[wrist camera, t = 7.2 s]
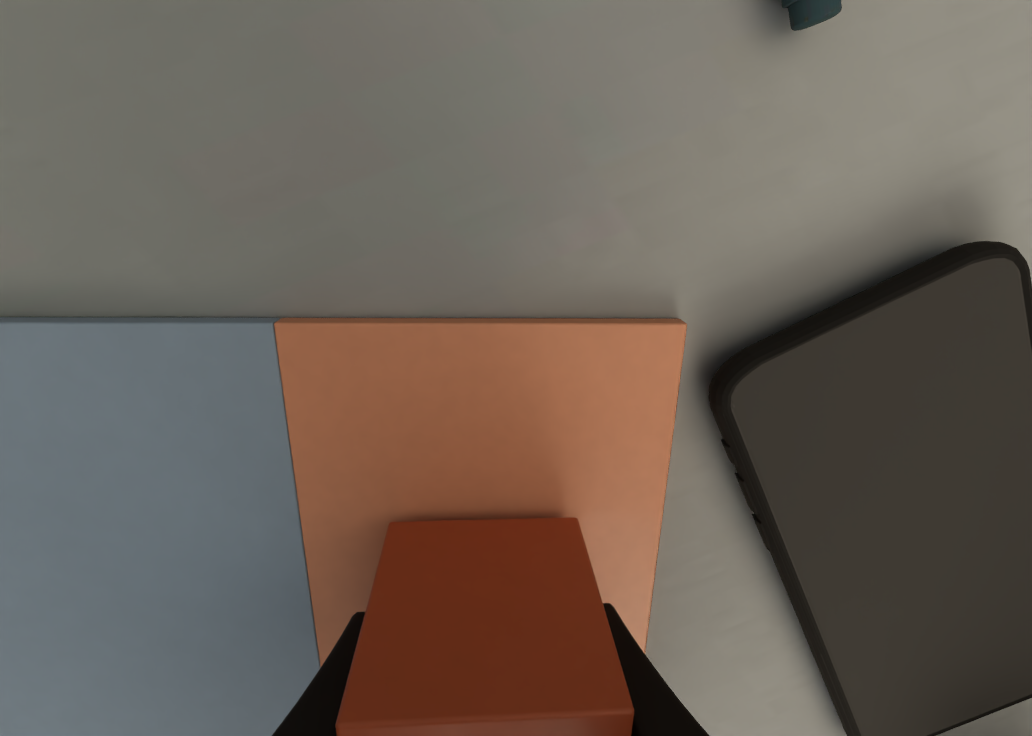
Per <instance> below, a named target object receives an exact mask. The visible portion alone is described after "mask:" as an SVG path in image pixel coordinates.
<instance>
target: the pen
mask: <svg viewBox="0 0 1032 736" xmlns="http://www.w3.org/2000/svg"><path fill="white" fill-rule="evenodd" d="M781 1H782V8H783V9H784V8H788V11H789V18H790V26H791V29H792V30H794V31H796V30H802V29H805V28H808V27H811V26H813V25H816V24H818V23H821V22H823V21H826V20H828V19H830V18H832V17H834V16H835V15H837V14H838V13H839V12H840V11H841V9H842V6H841V0H781Z"/></svg>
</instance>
